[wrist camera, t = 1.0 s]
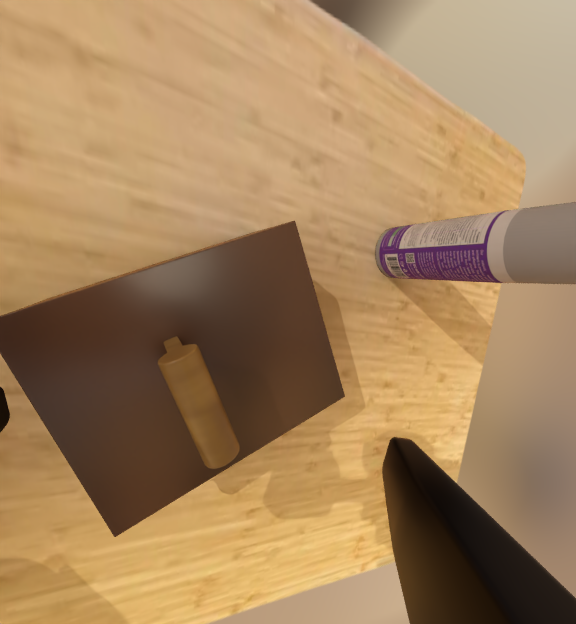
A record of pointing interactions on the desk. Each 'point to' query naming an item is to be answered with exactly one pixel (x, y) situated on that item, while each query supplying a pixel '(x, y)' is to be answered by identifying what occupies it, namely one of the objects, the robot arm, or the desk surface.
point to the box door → (175, 369)
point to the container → (486, 247)
